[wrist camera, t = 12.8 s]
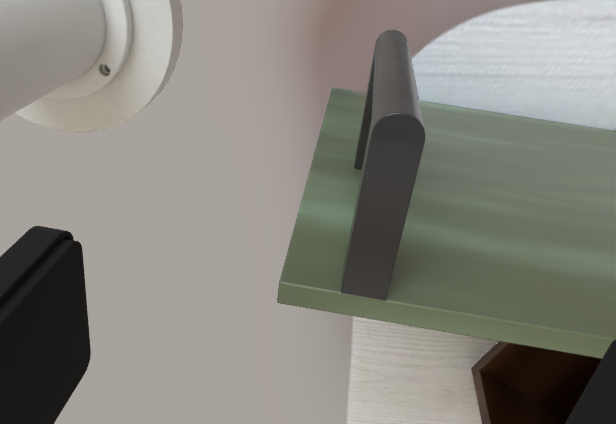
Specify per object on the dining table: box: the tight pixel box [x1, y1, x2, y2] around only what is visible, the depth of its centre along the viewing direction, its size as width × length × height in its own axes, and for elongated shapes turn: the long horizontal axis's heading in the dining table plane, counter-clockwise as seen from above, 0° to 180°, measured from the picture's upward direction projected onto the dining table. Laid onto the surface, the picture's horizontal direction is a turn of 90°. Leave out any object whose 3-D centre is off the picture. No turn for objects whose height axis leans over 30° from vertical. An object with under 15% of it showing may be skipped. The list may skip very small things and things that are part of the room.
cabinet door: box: [277, 30, 616, 359], centre depth 27 cm, size 8×26×24 cm, turn 83°
